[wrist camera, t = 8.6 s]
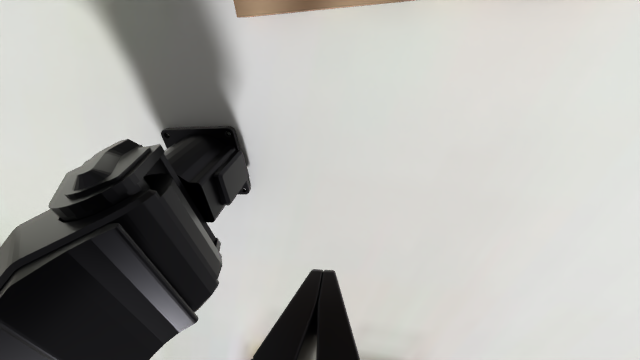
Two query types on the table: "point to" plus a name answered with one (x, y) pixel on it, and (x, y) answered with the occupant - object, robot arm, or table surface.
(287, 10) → the rod stand
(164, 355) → the table surface
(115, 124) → the table surface
